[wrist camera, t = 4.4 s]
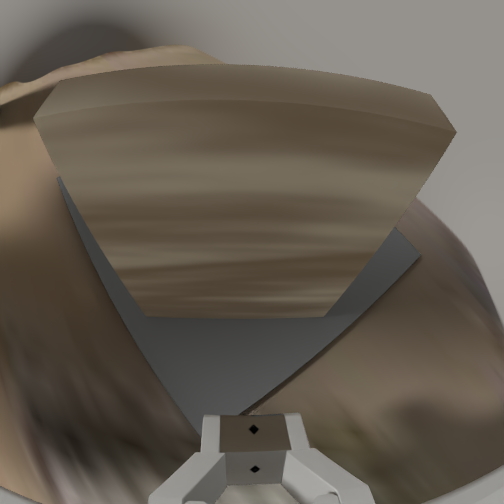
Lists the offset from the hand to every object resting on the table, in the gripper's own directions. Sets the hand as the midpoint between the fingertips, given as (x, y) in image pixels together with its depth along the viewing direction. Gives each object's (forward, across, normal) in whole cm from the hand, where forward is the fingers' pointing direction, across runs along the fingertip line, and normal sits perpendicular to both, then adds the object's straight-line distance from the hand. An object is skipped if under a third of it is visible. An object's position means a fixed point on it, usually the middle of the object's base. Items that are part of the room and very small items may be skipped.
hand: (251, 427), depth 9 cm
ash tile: (+12, 0, +1) cm, 12 cm away
